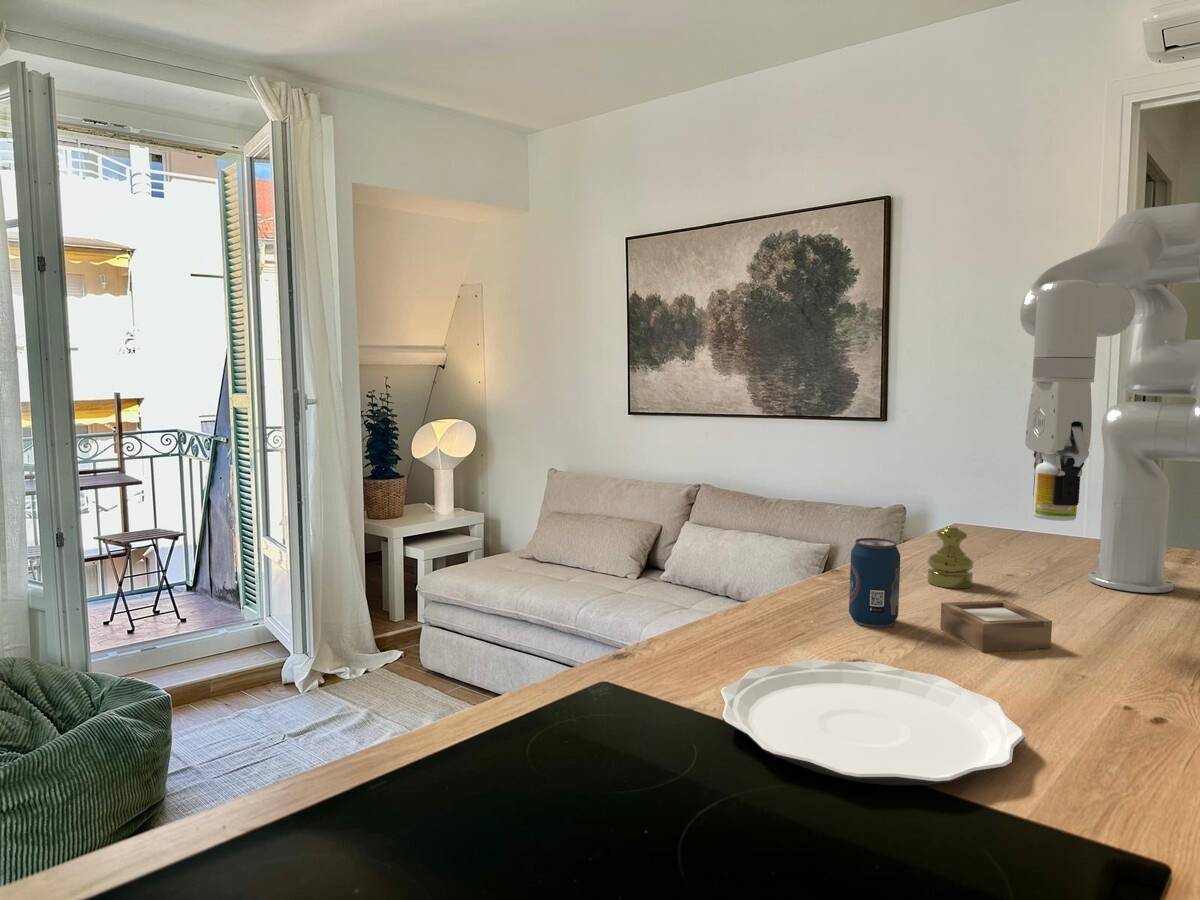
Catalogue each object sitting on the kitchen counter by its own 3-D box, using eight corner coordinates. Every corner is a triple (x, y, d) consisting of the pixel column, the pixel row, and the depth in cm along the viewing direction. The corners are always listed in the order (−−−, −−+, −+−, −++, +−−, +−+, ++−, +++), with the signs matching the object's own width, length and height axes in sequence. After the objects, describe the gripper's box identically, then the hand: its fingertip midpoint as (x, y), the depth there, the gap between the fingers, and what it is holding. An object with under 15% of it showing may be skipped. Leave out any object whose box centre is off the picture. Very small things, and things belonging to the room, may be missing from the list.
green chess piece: (981, 585, 145) (984, 528, 144) (956, 591, 141) (959, 533, 140) (943, 576, 151) (945, 521, 150) (917, 582, 147) (920, 526, 146)
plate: (843, 833, 68) (844, 805, 68) (671, 701, 95) (671, 681, 95) (1090, 766, 80) (1091, 741, 80) (875, 665, 107) (876, 647, 107)
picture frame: (940, 628, 121) (941, 602, 121) (1003, 625, 122) (1005, 600, 122) (982, 652, 111) (983, 624, 111) (1050, 648, 113) (1052, 620, 112)
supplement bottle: (1082, 522, 115) (1086, 451, 114) (1039, 520, 116) (1044, 450, 115) (1067, 515, 120) (1072, 448, 119) (1027, 514, 121) (1031, 446, 120)
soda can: (846, 613, 128) (849, 536, 127) (894, 616, 127) (897, 538, 126) (850, 627, 122) (853, 545, 120) (901, 630, 120) (904, 547, 119)
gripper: (1010, 371, 125) (1003, 492, 127) (1063, 371, 108) (1054, 510, 110) (1063, 372, 124) (1055, 493, 126) (1124, 372, 107) (1114, 512, 109)
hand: (1055, 500), depth 118 cm, fingers closed on supplement bottle, 5 cm apart
